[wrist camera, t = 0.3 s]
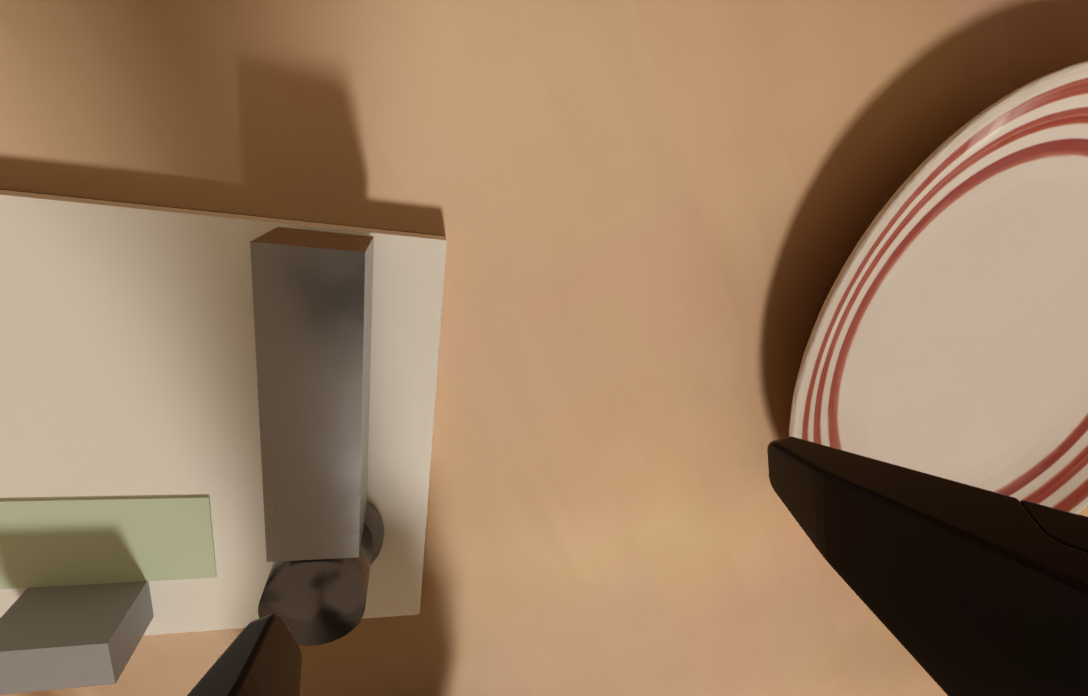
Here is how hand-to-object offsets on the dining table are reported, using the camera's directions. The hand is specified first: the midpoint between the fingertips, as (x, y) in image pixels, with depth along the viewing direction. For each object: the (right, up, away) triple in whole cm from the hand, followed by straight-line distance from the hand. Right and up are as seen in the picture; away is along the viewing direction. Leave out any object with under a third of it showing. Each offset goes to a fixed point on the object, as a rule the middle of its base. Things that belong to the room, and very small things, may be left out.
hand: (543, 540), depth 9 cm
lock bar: (-8, 0, +11) cm, 13 cm away
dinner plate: (+24, +4, +19) cm, 31 cm away
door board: (-15, 0, +11) cm, 18 cm away
